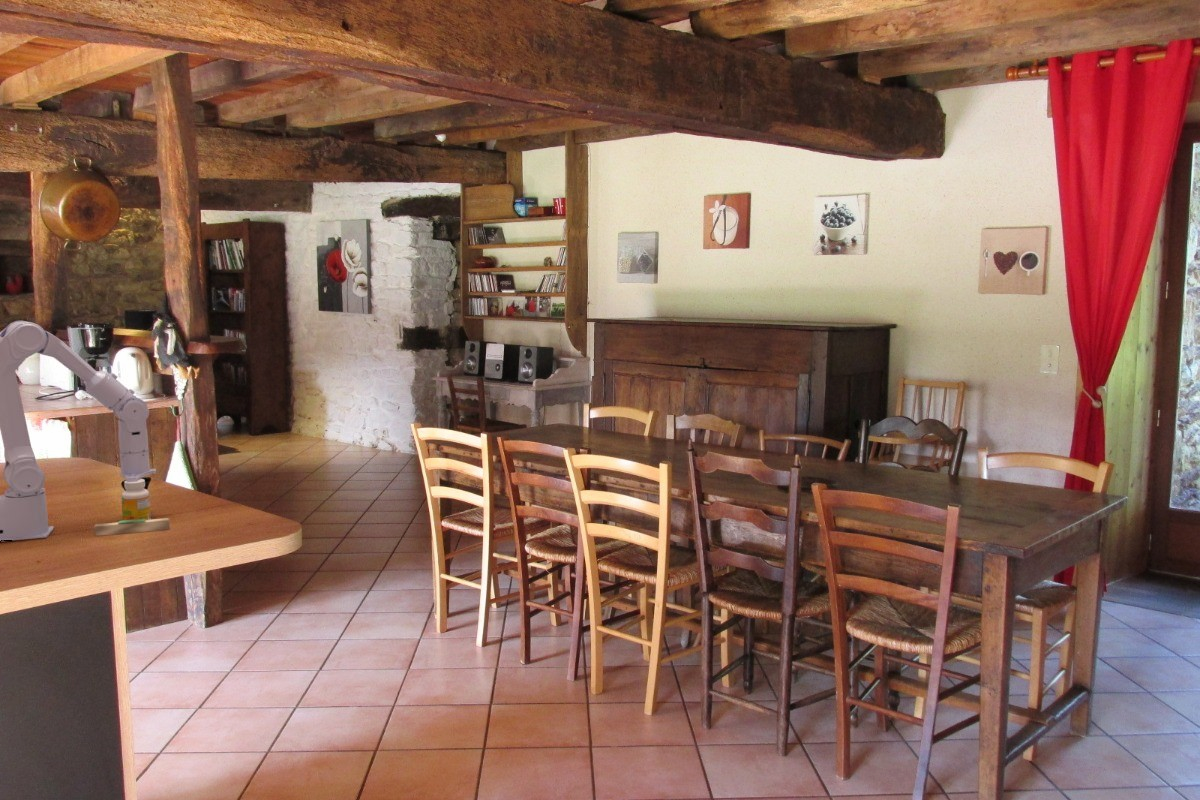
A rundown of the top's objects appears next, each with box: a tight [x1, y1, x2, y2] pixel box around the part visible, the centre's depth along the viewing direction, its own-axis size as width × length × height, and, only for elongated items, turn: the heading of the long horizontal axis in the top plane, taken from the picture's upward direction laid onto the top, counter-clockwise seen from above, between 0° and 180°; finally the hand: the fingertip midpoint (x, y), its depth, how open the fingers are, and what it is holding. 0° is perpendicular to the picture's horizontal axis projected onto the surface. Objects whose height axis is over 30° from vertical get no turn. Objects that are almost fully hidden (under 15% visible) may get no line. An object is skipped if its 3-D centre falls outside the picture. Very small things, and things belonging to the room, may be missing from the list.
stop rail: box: [93, 517, 171, 537], centre depth 204 cm, size 14×2×2 cm, turn 109°
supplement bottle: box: [120, 479, 152, 521], centre depth 208 cm, size 5×5×10 cm
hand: (138, 511), depth 214 cm, fingers closed
